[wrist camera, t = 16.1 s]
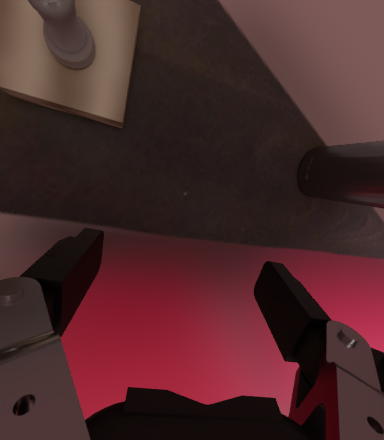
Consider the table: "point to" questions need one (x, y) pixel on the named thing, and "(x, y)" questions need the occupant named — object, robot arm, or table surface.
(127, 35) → the maple plinth
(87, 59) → the rook chess piece
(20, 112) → the table surface
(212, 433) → the robot arm
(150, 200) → the table surface
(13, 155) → the table surface
